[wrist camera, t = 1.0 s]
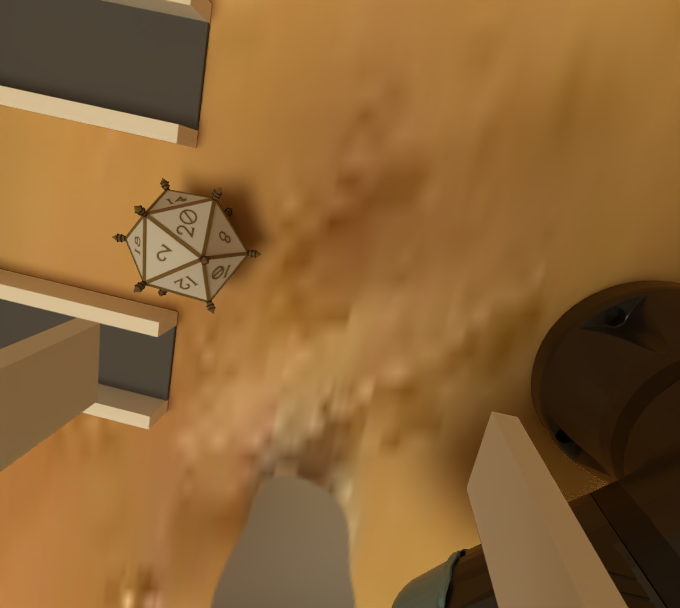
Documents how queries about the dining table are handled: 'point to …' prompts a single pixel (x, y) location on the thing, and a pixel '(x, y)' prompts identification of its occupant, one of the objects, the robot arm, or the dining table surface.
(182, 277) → the game die
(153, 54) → the pads
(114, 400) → the trap box
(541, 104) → the dining table surface
